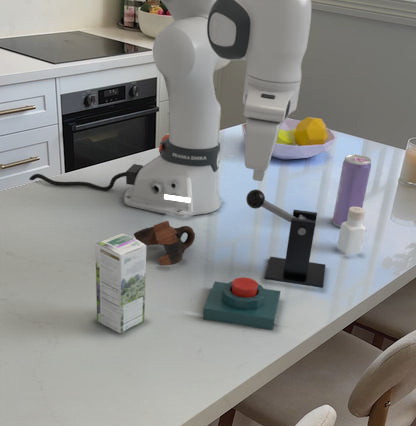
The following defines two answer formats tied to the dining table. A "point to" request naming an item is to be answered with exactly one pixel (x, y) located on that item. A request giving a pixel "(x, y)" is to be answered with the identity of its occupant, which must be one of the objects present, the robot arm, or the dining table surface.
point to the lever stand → (298, 255)
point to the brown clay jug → (167, 240)
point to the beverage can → (351, 186)
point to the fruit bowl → (301, 138)
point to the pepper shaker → (352, 232)
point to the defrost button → (244, 287)
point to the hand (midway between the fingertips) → (258, 177)
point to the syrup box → (120, 282)
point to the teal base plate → (242, 306)
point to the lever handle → (268, 205)
